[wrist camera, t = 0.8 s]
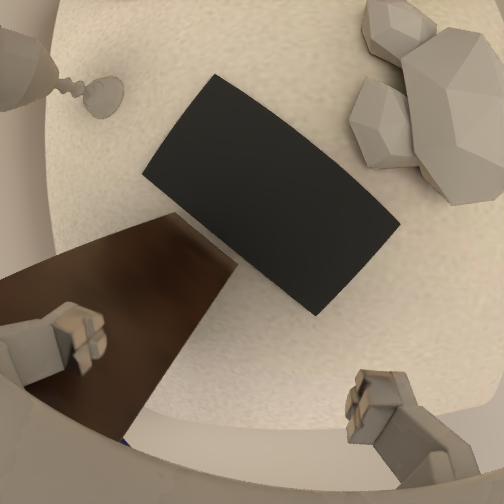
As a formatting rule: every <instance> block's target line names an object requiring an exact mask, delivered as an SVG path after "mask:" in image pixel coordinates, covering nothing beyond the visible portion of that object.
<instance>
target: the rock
mask: <svg viewBox="0 0 504 504" xmlns="http://www.w3.org/2000/svg"><path fill="white" fill-rule="evenodd" d="M361 30H362V33H363V35H364V38H365V40H366V43H367V46H368V49H369V51H370V53H371V54H374V55H376V56H378V57H380V58H382V59H384V60H386V61H388V62H390V63H392V64H394V65H396V66H398V67H400V68H402V69H403V74H404V79H405V85H406V90H407V96H408V97H407V96H406V95H404V94H403V93H401V92H399V91H398V90H396V89H394V88H393V87H391V86H389V85H387V84H384V83H381V82H379V81H376V80H373V79H371V78H368V77H366V79H365V82H364V84H363V86H362V89H361V91H360V94H359V96H358V98H357V101H356V103H355V105H354V108H353V110H352V112H351V115H350V117H349V119H348V120H349V123H350V125H351V127H352V129H353V132H354V134H355V136H356V139H357V141H358V144H359V146H360V149H361V151H362V153H363V156H364V159H365V161H366V164H367V166H368V168H380V169H386V168H398V167H411V166H419V167H420V170H421V173H422V176H423V178H424V179H425V180H426V181H427V182H428V183H429V184H430V185H431V186H432V187H433V188H434V189H435V190H436V191H437V192H438V193H439V194H440V195H441V196H442V197H443V198H444V199H445V200H446V201H447V202H448V203H449V204H450V205H451V206H454V205H462V204H469V203H477V202H484V201H492V200H495V199H496V198H497V197H498V196H499V195H501V194H502V193H503V192H504V65H503V64H502V62H501V61H500V59H499V57H498V56H497V54H496V53H495V51H494V50H493V49H492V47H491V46H490V44H489V43H488V41H487V40H486V39H485V37H484V36H483V34H480V33H476V32H471V31H466V30H460V29H455V28H446V29H445V30H443V31H442V32H440V33H438V34H437V24H436V23H435V22H433V21H432V20H431V19H430V18H428V17H427V16H426V15H425V14H423V13H422V12H421V11H419V10H418V9H417V8H415V7H414V6H413V5H411V4H410V3H408V2H407V1H405V0H367V1H366V7H365V12H364V17H363V22H362V28H361Z"/></svg>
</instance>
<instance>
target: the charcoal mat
mask: <svg viewBox="0 0 504 504" xmlns="http://www.w3.org/2000/svg"><path fill="white" fill-rule="evenodd" d="M142 175H143V176H145V177H146V178H147V179H148V180H149V181H151V182H152V183H153V184H154V185H155V186H157V187H158V188H159V189H160V190H161V191H163V192H164V193H165V194H166V195H167V196H169V197H170V198H171V199H172V200H174V201H175V202H176V203H177V204H178V205H180V206H181V207H182V208H183V209H184V210H186V211H187V212H188V213H189V214H190V215H192V216H193V217H194V218H195V219H197V220H198V221H199V222H200V223H201V224H203V225H204V226H205V227H206V228H207V229H209V230H210V231H211V232H212V233H214V234H215V235H216V236H217V237H218V238H220V239H221V240H222V241H223V242H225V243H226V244H227V245H228V246H229V247H231V248H232V249H233V250H234V251H236V252H237V253H238V254H239V255H240V256H242V257H243V258H244V259H245V260H247V261H248V262H249V263H250V264H251V265H253V266H254V267H255V268H256V269H258V270H259V271H260V272H261V273H263V274H264V275H265V276H266V277H267V278H269V279H270V280H271V281H272V282H274V283H275V284H276V285H277V286H279V287H280V288H281V289H282V290H284V291H285V292H286V293H287V294H288V295H290V296H291V297H292V298H293V299H295V300H296V301H297V302H298V303H300V304H301V305H302V306H303V307H305V308H306V309H307V310H308V311H310V312H311V313H312V314H313V315H315V316H317V315H318V314H319V313H320V312H321V311H322V310H323V309H324V308H325V307H326V306H327V305H328V304H329V303H330V302H331V301H332V300H333V299H334V298H335V297H336V295H337V294H338V293H339V292H340V291H341V290H342V289H343V288H344V287H345V286H346V285H347V284H348V283H349V282H350V281H351V280H352V279H353V278H354V277H355V275H356V274H357V273H358V272H359V271H360V270H361V269H362V268H363V267H364V266H365V265H366V264H367V262H368V261H369V260H370V259H371V258H372V257H373V256H374V255H375V254H376V252H377V251H378V250H379V249H380V248H381V247H382V246H383V244H384V243H385V242H386V241H387V240H388V239H389V237H390V236H391V235H392V234H393V233H394V232H395V230H396V229H397V228H398V227H399V226H400V223H399V222H398V221H397V220H396V219H395V218H394V217H393V216H392V215H391V214H390V213H389V212H388V211H387V210H386V209H385V208H384V207H383V206H382V205H381V204H380V203H379V202H378V201H377V200H376V199H375V198H374V197H373V196H372V195H371V194H370V193H369V192H368V191H367V190H366V189H364V188H363V187H362V186H361V185H360V184H359V183H358V182H357V181H356V180H355V179H354V178H352V177H351V176H350V175H349V174H348V173H347V172H346V171H345V170H343V169H342V168H341V167H340V166H339V165H338V164H336V163H335V162H334V161H333V160H332V159H331V158H329V157H328V156H327V155H326V154H325V153H323V152H322V151H321V150H320V149H319V148H317V147H316V146H315V145H314V144H313V143H311V142H310V141H309V140H308V139H306V138H305V137H304V136H302V135H301V134H300V133H299V132H297V131H296V130H295V129H294V128H292V127H291V126H290V125H288V124H287V123H286V122H284V121H283V120H282V119H280V118H279V117H278V116H276V115H275V114H273V113H272V112H271V111H269V110H268V109H267V108H265V107H264V106H262V105H261V104H260V103H258V102H257V101H255V100H254V99H252V98H251V97H249V96H248V95H247V94H245V93H244V92H242V91H241V90H239V89H238V88H236V87H235V86H233V85H231V84H230V83H228V82H227V81H225V80H224V79H222V78H221V77H219V76H217V75H216V74H214V75H213V76H212V78H211V79H210V80H209V81H208V83H207V84H206V85H205V86H204V87H203V89H202V90H201V91H200V92H199V94H198V95H197V96H196V98H195V99H194V100H193V101H192V103H191V104H190V105H189V107H188V108H187V109H186V111H185V112H184V113H183V115H182V116H181V117H180V119H179V120H178V121H177V123H176V124H175V125H174V127H173V128H172V130H171V131H170V132H169V134H168V135H167V137H166V138H165V140H164V141H163V143H162V144H161V145H160V147H159V148H158V150H157V151H156V153H155V154H154V156H153V157H152V159H151V160H150V162H149V164H148V165H147V167H146V168H145V170H144V171H143V173H142Z"/></svg>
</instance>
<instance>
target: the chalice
mask: <svg viewBox="0 0 504 504" xmlns="http://www.w3.org/2000/svg"><path fill="white" fill-rule="evenodd" d="M58 77H59V70H58V68H57V66H56V64H55V63H54V61H53V59H52V58H51V56H50V54H49V53H48V52H47V50H46V49H45V48H44V47H43V46H42V45H41V44H40V43H39V42H38V41H37V39H36V38H33V37H30V36H27V35H24V34H21V33H18V32H15V31H12V30H8V29H5V28H2V27H1V26H0V111H1V112H5V111H9V110H12V109H15V108H18V107H21V106H24V105H27V104H29V103H32V102H34V101H36V100H38V99H40V98H43V97H45V96H47V95H49V94H50V93H51V92H52V91H53V89H54V88H56V89H58V90H59V91H60V93H61V94H65V93H66V92H71V94H72V96H73V97H74V98H77V97H79V96H80V95H83V103H84V106H85V108H86V109H87V110H88V111H89V112H90V113H91V115H92V116H93V117H95V118H97V119H104V118H107V117H109V116H110V115H112V114H113V113H114V112H115V111H116V110H117V108H118V107H119V105H120V103H121V101H122V98H123V94H124V89H123V84H122V82H121V80H119V79H118V78H117V77H114V76H109V77H104V78H99V79H96V80H94V81H92V82H91V83H90V84H89V85H88V86H87V87H86V86H85V85H84V82H83V81H78V82H76V83H73V82H72V81H71V79H70V78H69V77H68V78H66V79H59V78H58Z"/></svg>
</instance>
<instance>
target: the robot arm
mask: <svg viewBox="0 0 504 504" xmlns="http://www.w3.org/2000/svg"><path fill="white" fill-rule="evenodd" d="M104 325H105V322H104V316H103V315H102V314H101V313H100V312H97V311H94V310H91V309H89V308H86V307H84V306H81V305H78V304H75V303H73V302H65V303H64V304H62V305H61V306H59V307H58V308H56V309H55V310H54V311H52V312H51V313H49V314H48V315H46V316H45V317H44V318H42V319H41V320H39V319H33V320H28V321H23V322H18V323H13V324H8V325H3V326H0V504H504V468H501V469H498V470H495V471H491V472H488V473H485V474H480V471H479V468H478V465H477V462H476V459H475V457H474V454H473V451H472V449H471V446H470V445H469V444H468V443H466V442H465V441H464V440H463V439H462V438H460V437H459V436H458V435H457V434H455V433H454V432H453V431H452V430H450V429H449V428H448V427H447V426H445V425H444V424H443V423H442V422H441V421H440V420H438V419H437V418H436V417H435V416H433V415H432V414H431V413H430V412H429V411H427V410H426V409H425V408H424V407H423V406H418V404H417V401H416V399H415V396H414V393H413V390H412V388H411V385H410V382H409V380H408V377H407V375H406V373H405V372H397V371H390V372H387V371H374V370H363V369H360V370H359V372H358V373H357V375H356V378H355V383H356V386H354V387H353V388H351V389H350V391H349V394H348V396H347V400H346V405H345V417H346V418H347V419H348V420H349V423H348V425H347V427H346V429H347V440H348V443H350V444H367V445H373V447H374V448H375V449H376V451H377V452H378V453H379V455H380V456H381V457H382V459H383V460H384V461H385V463H386V464H387V465H388V467H389V468H390V469H391V471H392V472H393V473H394V475H395V476H396V477H397V478H398V480H399V481H400V483H401V484H400V485H399V486H398V487H397V488H396V489H395V490H381V491H319V490H305V489H294V488H285V487H277V486H270V485H263V484H257V483H251V482H246V481H240V480H235V479H231V478H226V477H222V476H217V475H213V474H209V473H205V472H202V471H198V470H194V469H191V468H187V467H184V466H181V465H178V464H174V463H171V462H168V461H165V460H162V459H160V458H157V457H154V456H151V455H149V454H146V453H143V452H141V451H138V450H136V449H133V448H131V447H128V446H126V445H124V444H121V443H119V442H117V441H114V440H112V439H110V438H108V437H106V436H104V435H102V434H99V433H97V432H95V431H93V430H91V429H89V428H87V427H85V426H84V425H82V424H80V423H78V422H76V421H74V420H72V419H71V418H69V417H67V416H65V415H64V414H62V413H60V412H58V411H57V410H55V409H53V408H52V407H50V406H48V405H47V404H45V403H44V402H42V401H41V400H39V399H37V398H36V397H34V396H33V395H31V394H30V393H28V392H27V391H25V388H24V386H26V385H29V384H31V383H34V382H36V381H39V380H41V379H44V378H46V377H48V376H51V375H53V374H56V373H58V372H60V371H63V370H64V369H66V370H68V371H71V372H73V373H75V374H77V375H80V376H82V377H83V376H84V375H85V374H86V373H87V372H88V371H89V370H90V368H91V367H92V366H93V361H94V360H97V359H100V358H101V357H102V356H103V354H104V353H105V350H106V348H107V335H106V333H105V332H104V330H103V326H104Z"/></svg>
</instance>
